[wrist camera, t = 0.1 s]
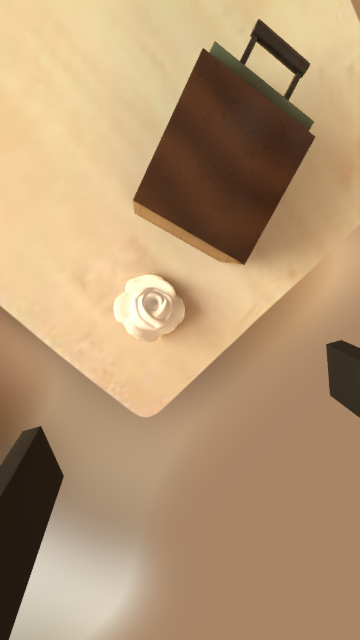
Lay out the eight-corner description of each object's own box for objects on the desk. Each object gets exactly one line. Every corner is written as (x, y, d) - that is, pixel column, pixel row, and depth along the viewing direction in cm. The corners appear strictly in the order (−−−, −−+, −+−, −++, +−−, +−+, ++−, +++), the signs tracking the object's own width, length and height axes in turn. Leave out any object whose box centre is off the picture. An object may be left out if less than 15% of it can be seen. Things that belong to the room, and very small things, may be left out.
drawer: (221, 36, 31) (246, -28, 24) (302, 103, 34) (345, 64, 27) (148, 193, 34) (150, 178, 27) (228, 241, 37) (249, 239, 30)
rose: (116, 352, 35) (107, 279, 32) (118, 341, 39) (110, 276, 37) (189, 344, 36) (186, 273, 34) (184, 334, 41) (181, 271, 38)
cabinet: (185, 102, 33) (203, 47, 24) (272, 164, 36) (315, 136, 27) (134, 213, 35) (132, 200, 26) (220, 261, 39) (244, 265, 30)
